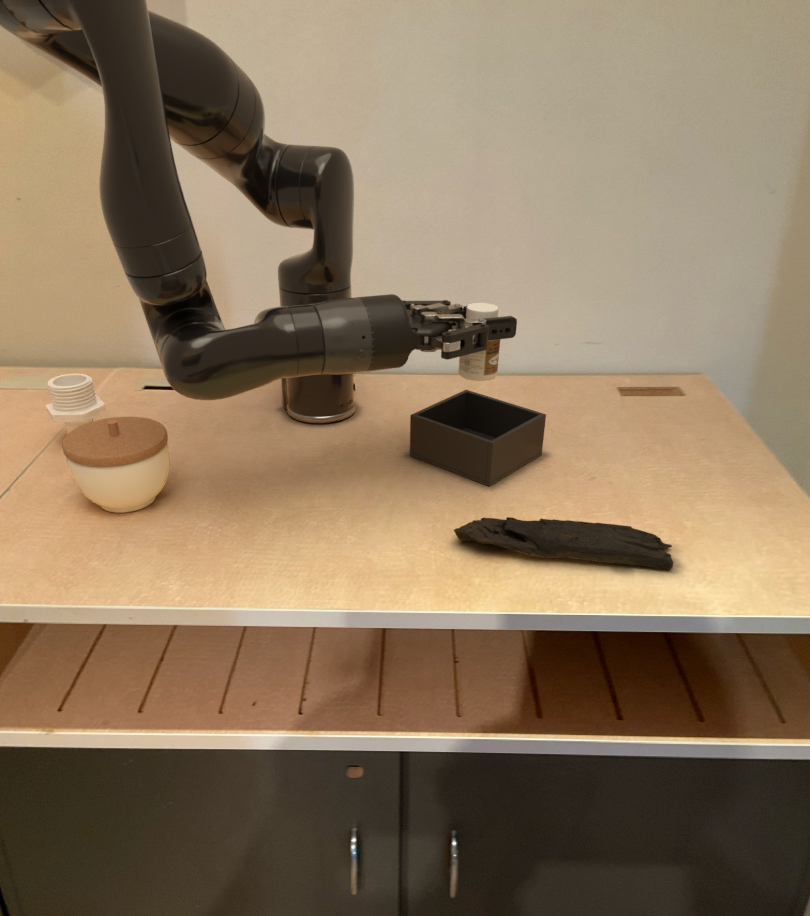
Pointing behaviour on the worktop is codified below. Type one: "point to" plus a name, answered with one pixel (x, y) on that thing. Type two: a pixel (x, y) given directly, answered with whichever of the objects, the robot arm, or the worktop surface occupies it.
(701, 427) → the worktop surface
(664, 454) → the worktop surface
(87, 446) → the trinket box
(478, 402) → the open box
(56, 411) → the pipe fitting
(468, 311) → the pill bottle
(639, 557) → the wood
